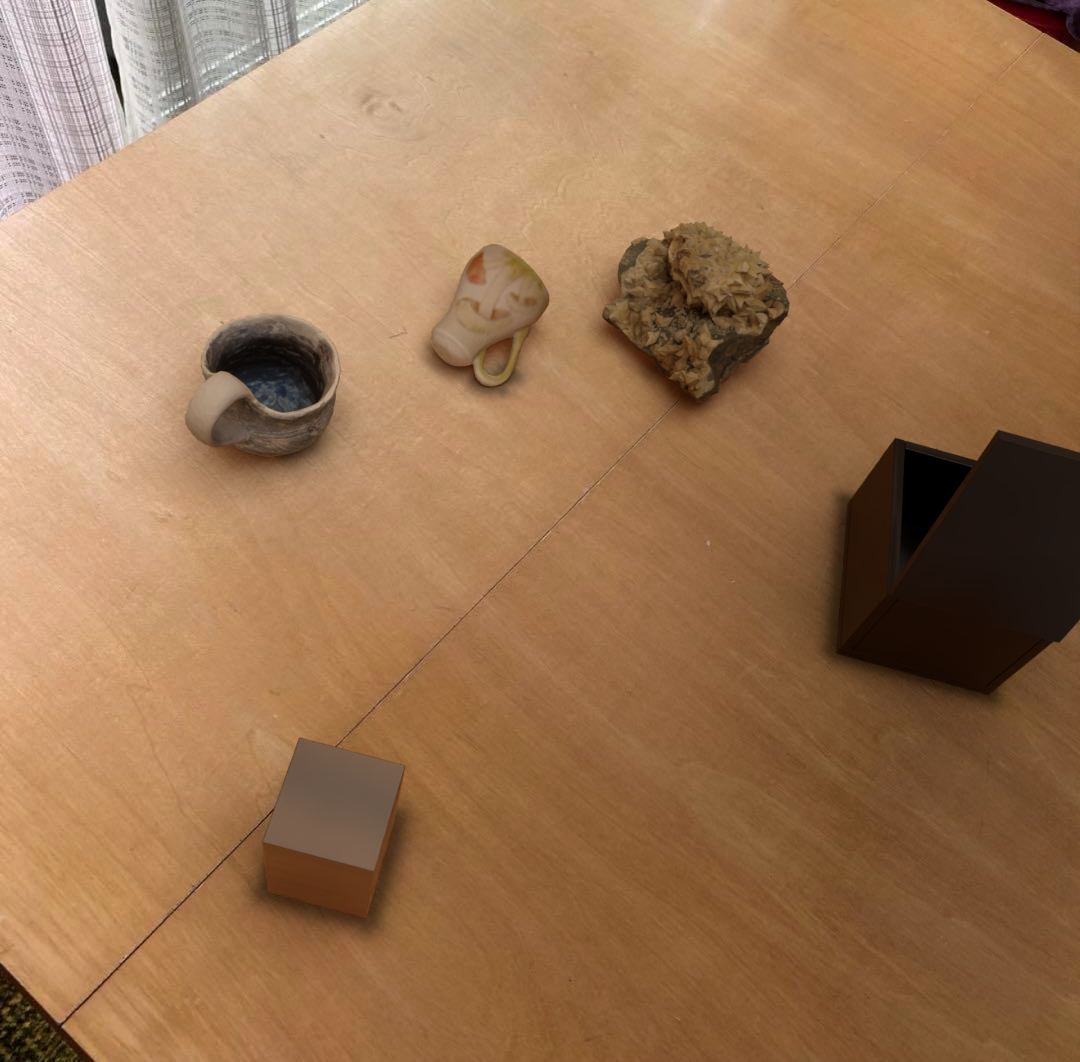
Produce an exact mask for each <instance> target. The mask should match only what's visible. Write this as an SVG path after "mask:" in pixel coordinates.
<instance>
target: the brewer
mask: <svg viewBox="0 0 1080 1062" xmlns="http://www.w3.org/2000/svg"><path fill="white" fill-rule="evenodd" d="M977 460H978V459H973V458H969V457H966V456H963V455H958V454H956V453H952V452H948V451H944V450H940V449H939V448H938V449H937V448H934V447H930V446H926V445H923V444H919V443H916V442H912V441H909V440H905V439H903V438H898V437H894V439H893V440H892V441H891V443H890V444H889V445H888V447H886V449H885V451H884V452H883V454H882V455H881V456H880V458H879V460H878V461H877V462H876V464H875V465H874V466H873V467H872V469H871V471H870V472H869V473H868V474H867V476H866V477H865V479H864V480H863V482H862V483H861V484H860V486H859V487H858V488H857V490H856V491H855V493H853V495H852V497H851V498H850V499H849V501H848V502H847V511H846V521H845V523H846V524H845V537H844V538H845V539H844V548H843V563H842V576H841V588H840V600H839V601H840V603H839V614H838V616H839V617H838V630H837V641H836V654H838V655H842V656H846V657H849V658H853V659H856V660H861V661H864V662H868V663H871V664H874V665H879V666H883V667H886V668H889V669H893V670H897V671H901V672H905V673H909V674H911V675H915V676H919V677H923V678H926V679H930V680H934V681H937V682H940V683H941V682H942V683H945V684H949V685H952V686H955V687H959V688H963V689H967V690H970V691H974V692H977V693H980V694H984V695H991V694H992V693H994V691H996V690H997V689H998V688H999V687H1000V686H1001V685H1003V684H1004V683H1006V681H1008V680H1009V679H1010V678H1011V677H1012V676H1014V675H1015V674H1017V673H1018V672H1019V671H1020V670H1021V669H1022V668H1024V667H1025V666H1026V665H1027V664H1029V663H1030V662H1031V661H1032V660H1033V659H1035V658H1036V657H1037V656H1038V655H1039V654H1041V653H1042V652H1043V651H1044V650H1046V649H1047V648H1048V647H1049V646H1051V645H1052V644H1053V643H1054V641H1050V640H1047V639H1043V638H1040V637H1036V636H1032V635H1029V634H1025V633H1021V632H1018V631H1014V630H1010V629H1007V628H1003V627H1000V626H996V625H992V624H989V623H985V622H981V621H978V620H974V619H970V618H967V617H963V616H960V615H956V614H952V613H949V612H945V611H941V610H938V609H934V608H931V607H927V606H923V605H920V604H916V603H912V602H909V601H905V600H901V599H898V598H894V597H891V594H890V587H891V586H892V584H893V583H894V582H895V580H896V579H897V577H898V576H899V574H900V573H901V571H902V570H903V568H904V567H905V565H906V564H907V562H908V561H909V560H910V558H911V557H912V555H913V554H914V552H915V551H916V549H917V548H918V546H919V545H920V543H921V542H922V540H923V539H924V538H925V536H926V535H927V533H928V532H929V530H930V529H931V527H932V526H933V524H934V523H935V521H936V520H937V518H938V517H939V516H940V514H941V513H942V511H943V510H944V508H945V507H946V505H947V504H948V502H949V501H950V499H951V498H952V496H953V495H954V494H955V492H956V491H957V489H958V488H959V486H960V485H961V483H962V482H963V480H964V479H965V477H966V476H967V474H968V473H969V472H970V470H971V469H972V467H973V466H974V464H975V463H976V461H977Z"/></svg>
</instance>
